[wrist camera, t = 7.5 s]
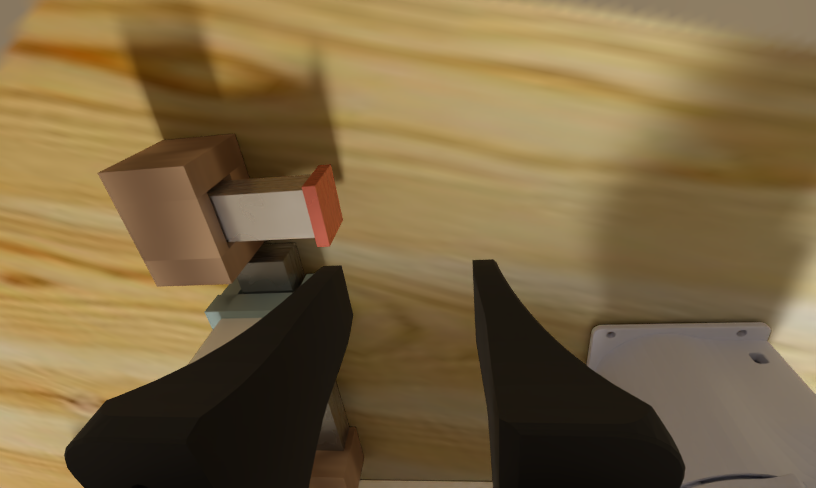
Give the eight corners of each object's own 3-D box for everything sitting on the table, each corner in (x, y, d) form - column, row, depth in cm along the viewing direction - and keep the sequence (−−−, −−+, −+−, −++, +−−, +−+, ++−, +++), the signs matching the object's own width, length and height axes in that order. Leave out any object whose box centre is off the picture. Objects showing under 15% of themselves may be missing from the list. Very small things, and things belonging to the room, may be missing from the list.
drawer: (330, 164, 20) (314, 185, 17) (343, 219, 21) (329, 246, 19) (222, 172, 20) (193, 194, 18) (241, 225, 22) (217, 251, 20)
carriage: (326, 273, 24) (286, 358, 19) (342, 335, 27) (311, 427, 21) (232, 276, 25) (167, 358, 20) (256, 336, 28) (205, 425, 22)
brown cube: (355, 427, 32) (343, 478, 29) (364, 457, 34) (354, 508, 31) (307, 426, 33) (290, 476, 30) (318, 456, 35) (303, 505, 32)
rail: (295, 242, 24) (283, 261, 22) (349, 427, 33) (343, 451, 31) (247, 244, 24) (231, 263, 23) (313, 426, 33) (305, 450, 31)
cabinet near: (234, 133, 21) (183, 166, 17) (268, 236, 24) (231, 283, 20) (163, 140, 21) (97, 173, 18) (205, 239, 24) (157, 286, 21)
